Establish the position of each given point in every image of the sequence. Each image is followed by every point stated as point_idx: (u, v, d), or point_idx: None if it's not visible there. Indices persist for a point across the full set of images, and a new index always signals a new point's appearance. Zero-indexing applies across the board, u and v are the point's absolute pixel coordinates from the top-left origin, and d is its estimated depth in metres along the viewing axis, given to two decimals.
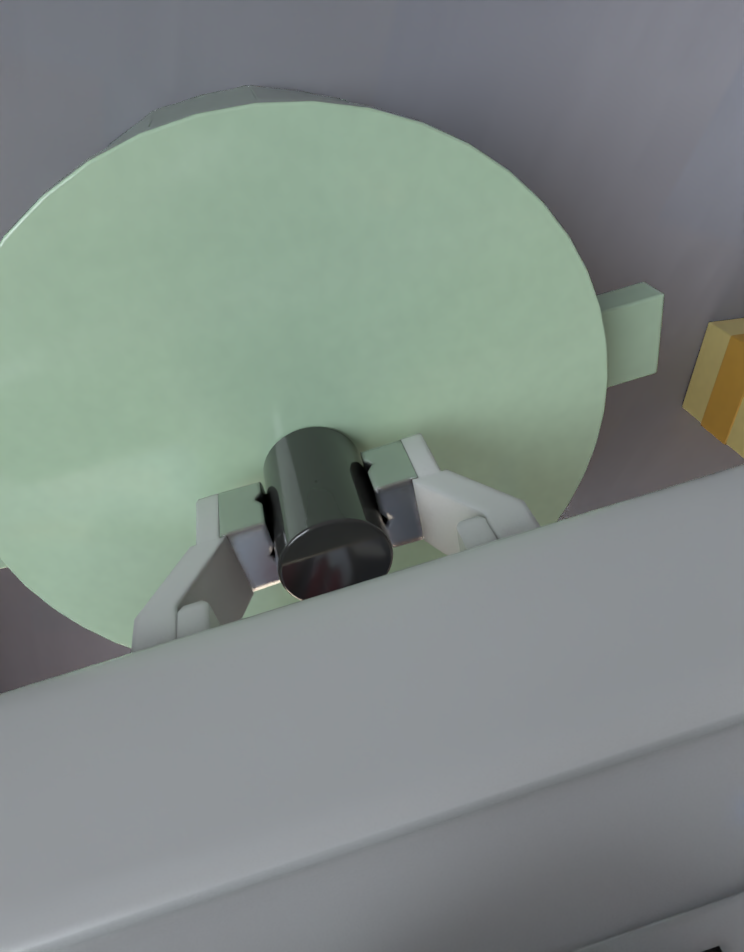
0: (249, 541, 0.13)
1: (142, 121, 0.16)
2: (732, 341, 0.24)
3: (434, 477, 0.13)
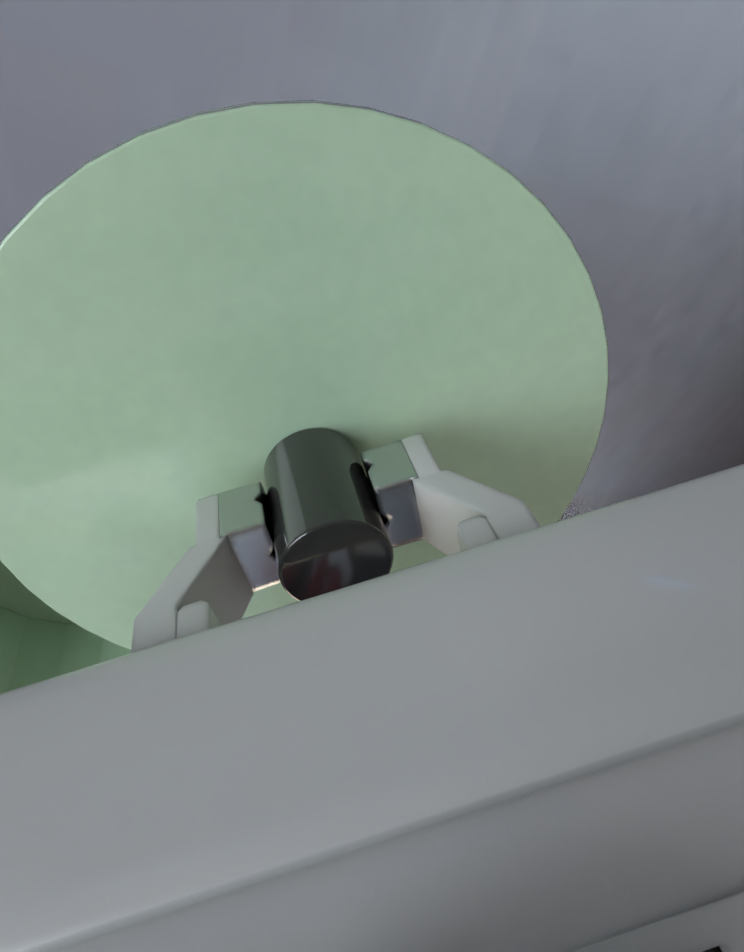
0: (249, 541, 0.13)
1: None
2: None
3: (434, 477, 0.13)
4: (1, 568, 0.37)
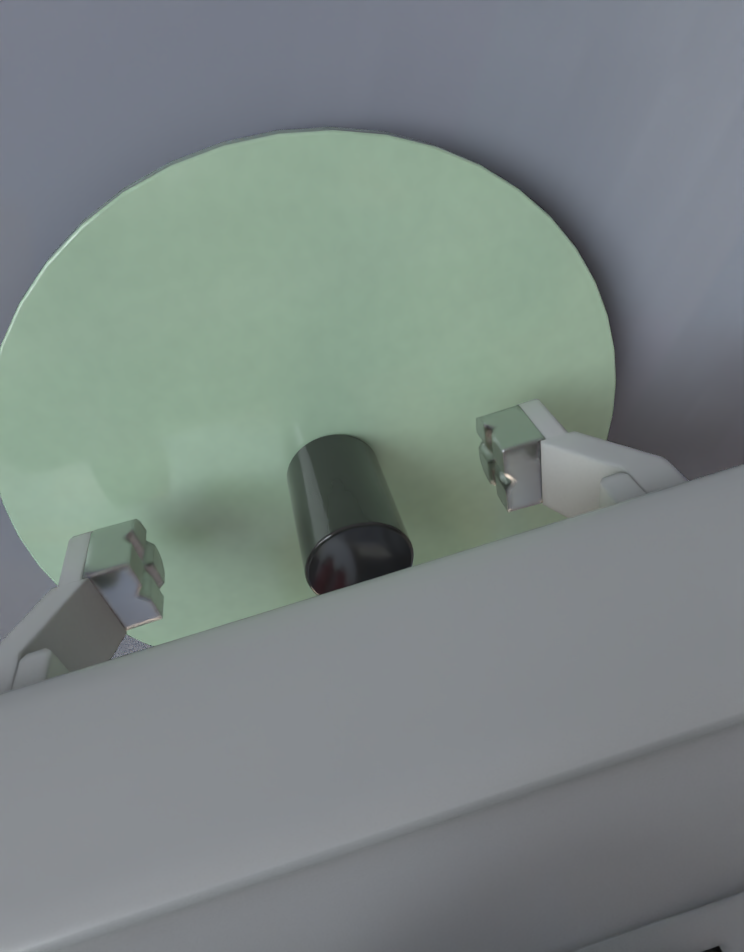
0: (114, 582, 0.13)
1: None
2: None
3: (563, 438, 0.13)
4: None
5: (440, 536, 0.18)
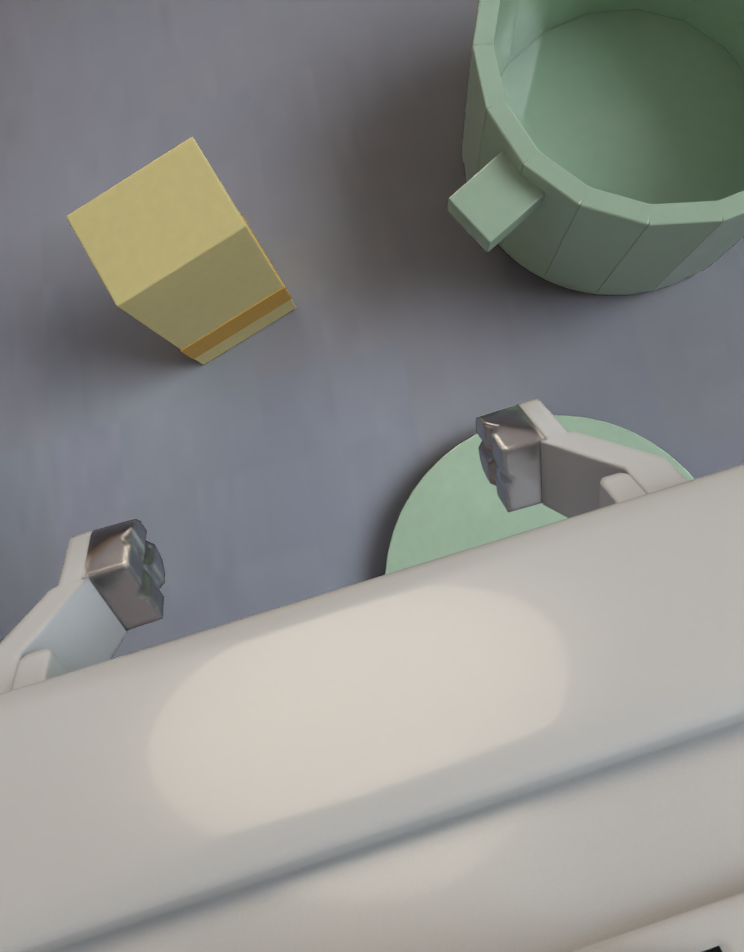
0: (114, 582, 0.13)
1: None
2: (289, 294, 0.30)
3: (563, 438, 0.13)
4: (686, 79, 0.30)
5: None
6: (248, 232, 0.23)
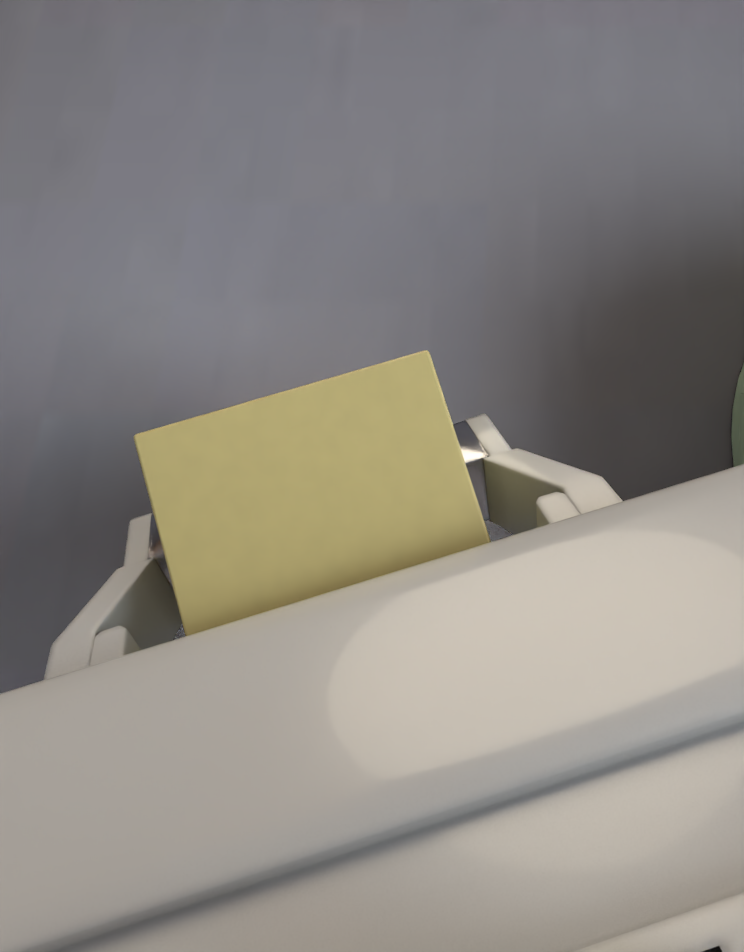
0: None
1: None
2: None
3: (505, 455, 0.13)
4: None
5: None
6: None
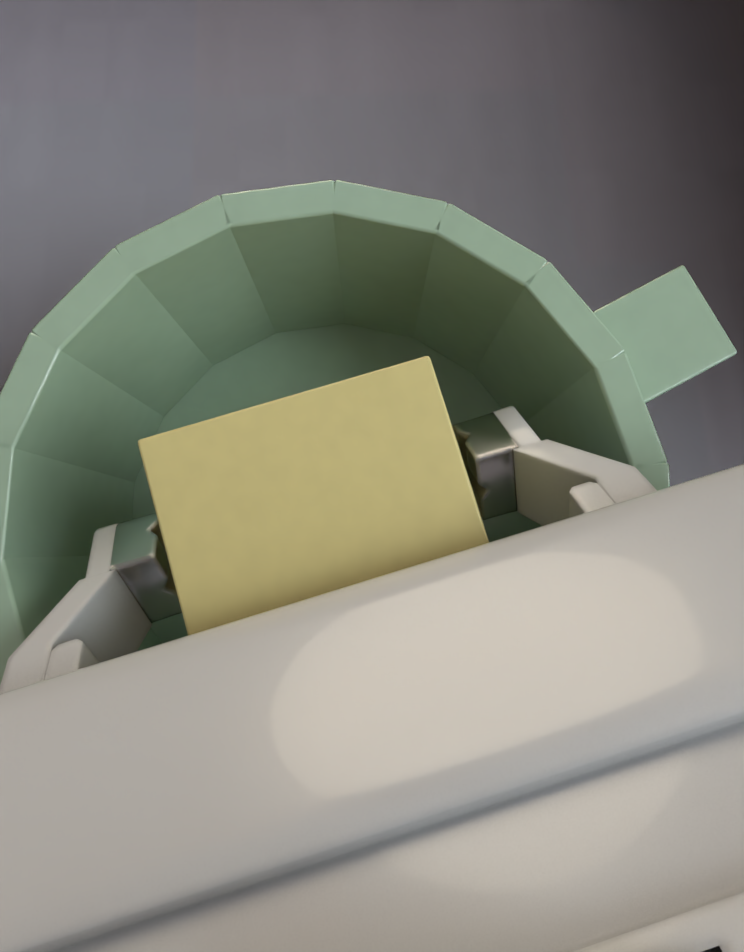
0: (141, 574, 0.13)
1: None
2: None
3: (536, 446, 0.13)
4: None
5: None
6: None
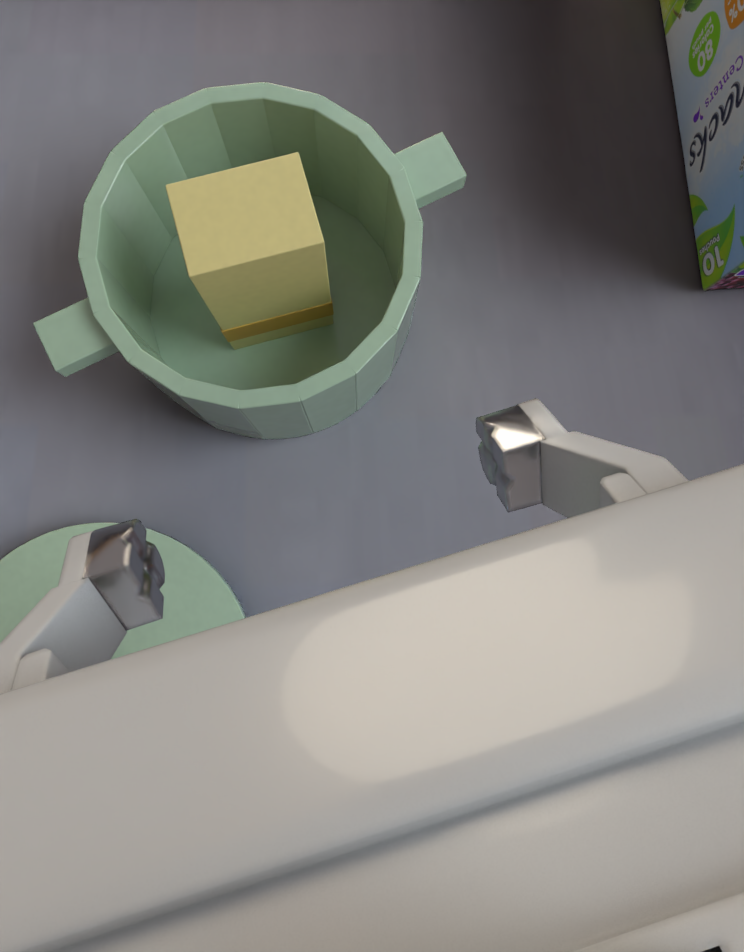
0: (114, 582, 0.13)
1: (361, 403, 0.33)
2: None
3: (563, 438, 0.13)
4: (345, 268, 0.34)
5: None
6: (323, 247, 0.25)
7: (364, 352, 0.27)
